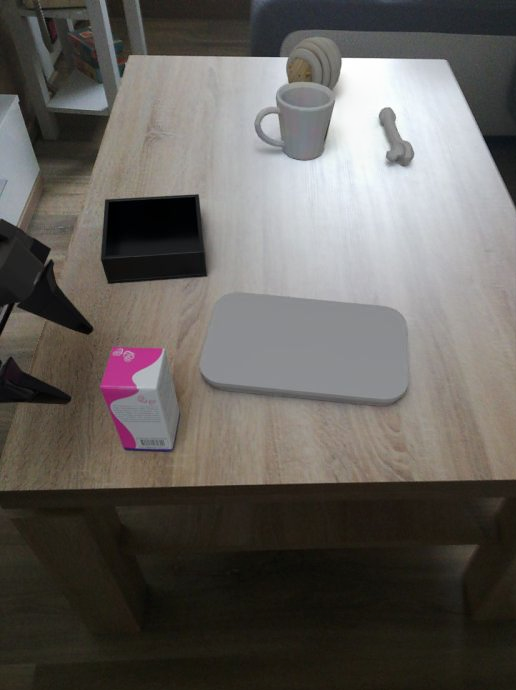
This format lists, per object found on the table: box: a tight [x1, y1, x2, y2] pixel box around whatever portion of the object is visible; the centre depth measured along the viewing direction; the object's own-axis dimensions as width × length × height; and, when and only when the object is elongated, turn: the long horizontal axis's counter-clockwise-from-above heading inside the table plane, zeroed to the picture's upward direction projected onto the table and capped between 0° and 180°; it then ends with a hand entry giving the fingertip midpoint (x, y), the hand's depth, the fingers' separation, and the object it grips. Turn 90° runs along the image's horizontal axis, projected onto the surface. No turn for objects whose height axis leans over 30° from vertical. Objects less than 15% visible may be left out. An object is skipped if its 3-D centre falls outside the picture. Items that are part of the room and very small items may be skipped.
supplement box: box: [99, 346, 181, 453], centre depth 61 cm, size 6×6×12 cm
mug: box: [253, 82, 336, 161], centre depth 100 cm, size 10×15×10 cm
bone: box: [378, 106, 415, 166], centre depth 106 cm, size 18×5×4 cm, turn 0°
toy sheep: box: [285, 36, 343, 92], centre depth 113 cm, size 11×17×11 cm, turn 150°
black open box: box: [100, 193, 208, 285], centre depth 84 cm, size 14×14×4 cm
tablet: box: [198, 291, 409, 407], centre depth 73 cm, size 16×26×2 cm, turn 85°
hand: (81, 364), depth 56 cm, fingers open, 9 cm apart
